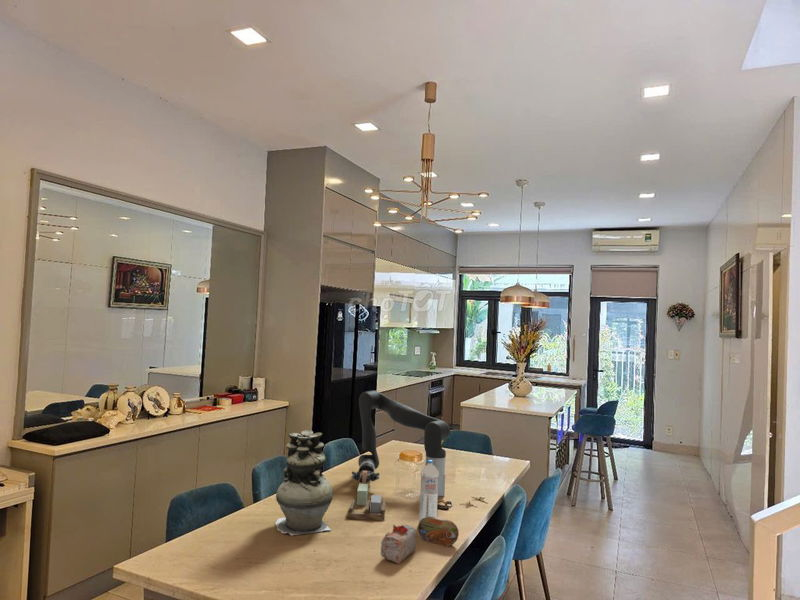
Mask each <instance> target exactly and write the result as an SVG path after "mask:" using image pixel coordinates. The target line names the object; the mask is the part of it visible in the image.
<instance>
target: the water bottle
mask: <svg viewBox="0 0 800 600" xmlns="http://www.w3.org/2000/svg"><path fill="white" fill-rule="evenodd" d="M432 463H433V461H432V460H428V464H427V465H426V466H425V465H424V467H423V468H421V471H420V491H419V509H418V510H419V511H418V512H419V513H418V523H419V522H420V521H421V520H422V519H423V518H426V517H435V518H438V517H437V515H438V499H439V497H438V476H439V472H438V470H437V468H436V467H435V466H434V465H432Z"/></svg>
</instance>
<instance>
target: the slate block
mask: <svg viewBox="0 0 800 600" xmlns="http://www.w3.org/2000/svg"><path fill="white" fill-rule="evenodd" d="M369 513H374V514H382V495H380V494H379V495H377V494H375V495H374V494H372V495H371V497H370V511H369Z"/></svg>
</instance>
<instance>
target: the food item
mask: <svg viewBox="0 0 800 600" xmlns="http://www.w3.org/2000/svg"><path fill="white" fill-rule="evenodd" d="M392 527H393V528H392V532H390V531H388V532H387V533H385V535H384V537H383V538H382V540H381V543H380V544H381V546H380V555H381V558H384V559H386V560H387V561H389V562H392V563H395V564H398V565H400V564H401V563H402V562H403V561H404V560H406V558H407V557H408V556H410V555H411V554H412V553H413V552H414V551H416V549H417V530H416V528H415V527H413V526H411V525H409V524H401V525H398V526H397V525H396V524H393V526H392Z"/></svg>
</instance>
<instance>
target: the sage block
mask: <svg viewBox="0 0 800 600" xmlns="http://www.w3.org/2000/svg"><path fill="white" fill-rule="evenodd" d="M362 477H363V479H362V483H359V484H358V487H357V490H356V491H357V493H356V494H357V495H356V505H357V506H366V505H367V500H368V498H369V497H368V496H369V483H366V478H367V471H363V474H362Z"/></svg>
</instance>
